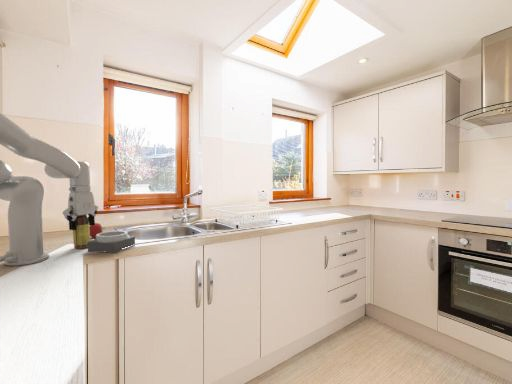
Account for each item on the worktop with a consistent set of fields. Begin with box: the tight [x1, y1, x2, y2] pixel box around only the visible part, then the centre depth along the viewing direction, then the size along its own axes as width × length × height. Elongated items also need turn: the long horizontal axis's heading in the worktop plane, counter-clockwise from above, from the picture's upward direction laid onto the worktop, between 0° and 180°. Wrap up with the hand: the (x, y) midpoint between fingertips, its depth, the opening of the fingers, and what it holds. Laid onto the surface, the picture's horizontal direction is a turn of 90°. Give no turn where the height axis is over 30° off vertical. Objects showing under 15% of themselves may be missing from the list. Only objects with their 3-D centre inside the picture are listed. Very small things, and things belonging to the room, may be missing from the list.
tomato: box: [89, 222, 106, 239], centre depth 136 cm, size 8×8×8 cm
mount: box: [87, 230, 136, 254], centre depth 115 cm, size 13×13×6 cm
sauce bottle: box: [72, 215, 91, 250], centre depth 116 cm, size 7×6×20 cm
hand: (82, 227), depth 116 cm, fingers open, 9 cm apart
